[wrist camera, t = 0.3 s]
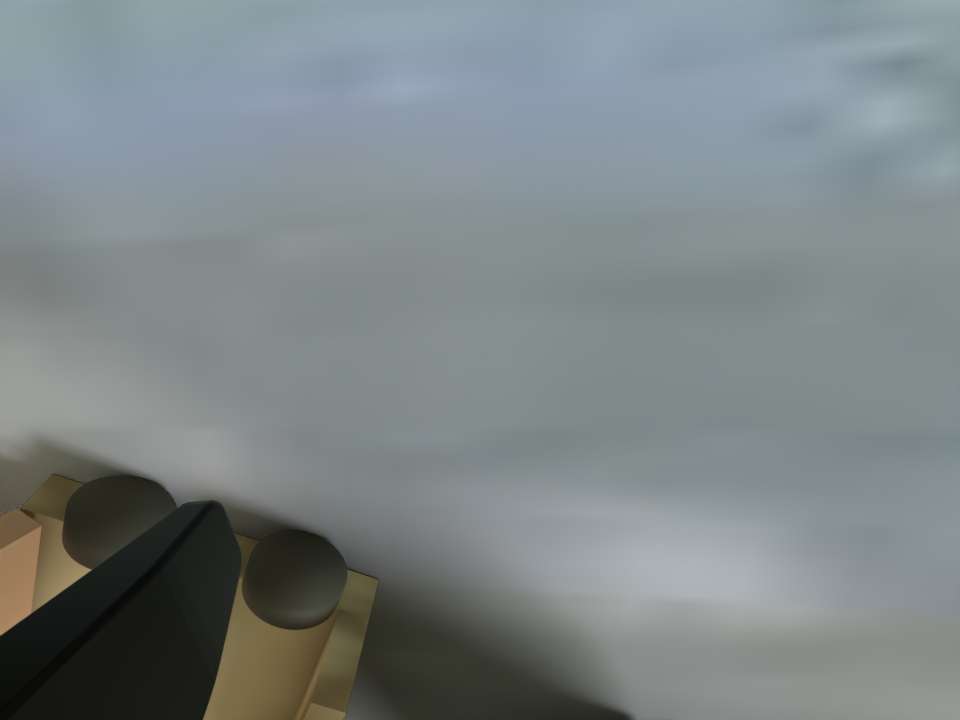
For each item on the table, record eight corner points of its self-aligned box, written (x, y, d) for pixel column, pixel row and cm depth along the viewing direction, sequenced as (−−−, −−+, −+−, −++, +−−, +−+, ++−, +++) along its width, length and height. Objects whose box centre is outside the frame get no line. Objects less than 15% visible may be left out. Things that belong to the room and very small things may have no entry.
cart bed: (388, 559, 29) (356, 690, 24) (287, 789, 37) (246, 929, 31) (55, 449, 27) (-57, 564, 22) (21, 714, 35) (-70, 847, 30)
